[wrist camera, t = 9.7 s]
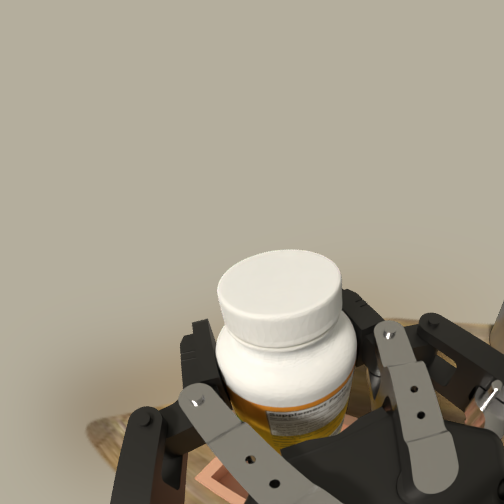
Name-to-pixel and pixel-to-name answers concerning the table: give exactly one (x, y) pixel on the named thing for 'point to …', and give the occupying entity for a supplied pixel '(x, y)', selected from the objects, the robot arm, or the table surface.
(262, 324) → the supplement bottle
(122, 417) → the table surface
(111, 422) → the table surface
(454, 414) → the table surface
